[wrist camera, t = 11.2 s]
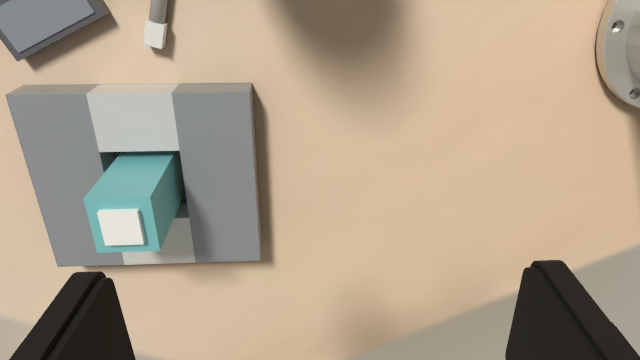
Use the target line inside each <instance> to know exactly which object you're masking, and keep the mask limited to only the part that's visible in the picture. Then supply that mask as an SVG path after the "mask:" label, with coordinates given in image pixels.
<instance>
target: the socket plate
mask: <svg viewBox="0 0 640 360" xmlns="http://www.w3.org/2000/svg"><path fill="white" fill-rule="evenodd" d="M6 99H7V102H8V105H9V108H10V112H11V115H12V118H13V122H14V125H15V128H16V131H17V135H18V138H19V141H20V145H21V148H22V151H23V154H24V158H25V161H26V164H27V167H28V171H29V174H30V177H31V181H32V184H33V187H34V190H35V194H36V197H37V200H38V203H39V207H40V210H41V213H42V217H43V220H44V223H45V226H46V230H47V233H48V236H49V239H50V243H51V246H52V249H53V253H54V256H55V259H56V262H57V266H58V267H68V266H101V265H134V264H167V263H200V262H233V261H260V258H261V247H262V239H261V222H260V206H259V190H258V174H257V158H256V141H255V125H254V109H253V93H252V83H196V84H99V85H23V86H22V87H20V88H18V89H16V90H14V91H12V92H10V93H8V94H6ZM134 151H180V157H181V164H182V171H183V178H184V185H185V192H186V199H187V203H180V205H179V208H178V210H177V212H176V215H175V217H174V219H173V222H172V224H171V226H170V229H169V231H168V233H167V236H166V238H165V240H164V243H163V245H162V247H161V250H160V251H138V252H107V253H97V250H96V246H95V242H94V238H93V235H92V231H91V227H90V223H89V219H88V215H87V211H86V208H85V204H84V200H83V198H84V197H85V196H86V195H87V193H88V192H89V191H90V190H91V188H92V187H93V186H94V185H95V184H96V182H97V181H98V180H99V179H100V177H101V176H102V175H103V174H104V173H105V171H106V170H107V169H108V168H109V166H110V165H111V164H112V163H113V162H114V160H115V157H114V152H134Z"/></svg>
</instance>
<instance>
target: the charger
mask: <svg viewBox="0 0 640 360" xmlns="http://www.w3.org/2000/svg"><path fill="white" fill-rule="evenodd" d="M184 194H185V190H184V184H183V177H182V170H181V163H180V156H179V151H134V152H121V153H120V154H119V155H118V157H117V158H116V159H115V160H114V162H113V163H112V164H111V165H110V166H109V168H108V169H107V170H106V171H105V173H104V174H103V175H102V176H101V177H100V179H99V180H98V181H97V182H96V184H95V185H94V186H93V187H92V188H91V190H90V191H89V192H88V193H87V195H86V196H85V197H84V198H83V200H84V204H85V208H86V211H87V215H88V219H89V223H90V227H91V231H92V235H93V238H94V242H95V246H96V250H97V253H107V252H138V251H160V250H161V247H162V245H163V243H164V240H165V238H166V236H167V233H168V231H169V229H170V226H171V224H172V222H173V219H174V217H175V215H176V212H177V210H178V208H179V205H180V203H181V201H182V198H183V196H184Z"/></svg>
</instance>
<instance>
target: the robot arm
mask: <svg viewBox="0 0 640 360" xmlns="http://www.w3.org/2000/svg"><path fill="white" fill-rule="evenodd" d="M596 54H597V64H598V67H599V71H600V74H601V77H602V78H603V80H604V82H605V84H606V85H607V87H608V88H609V89H610V90H611V91H612V92H613V93H614V95H615V96H616V97H618V98H619V99H621V100H623V101H624V102H626V103H628V104H630V105H632V106H635V107H637V108H639V109H640V0H609V1H608V3H607V5H606V7H605V9H604V12H603V15H602V18H601V22H600V25H599V28H598V34H597V42H596ZM9 360H135V356H134V353H133V349H132V346H131V342H130V338H129V335H128V331H127V328H126V324H125V321H124V317H123V314H122V310H121V307H120V303H119V299H118V296H117V292H116V289H115V285H114V282H113V280H112V279H111V278H106V276H105V274H104V273H103V272H76V273H74V274H73V275H72V276H71V277H70V278H69V279H68V281H67V282H66V283H65V285H64V286H63V288H62V289H61V290H60V292H59V293H58V294H57V296H56V297H55V298H54V300H53V301H52V303H51V304H50V305H49V307H48V308H47V309H46V311H45V312H44V314H43V315H42V316H41V318H40V319H39V320H38V322H37V323H36V324H35V326H34V327H33V329H32V330H31V331H30V333H29V334H28V335H27V337H26V338H25V339H24V341H23V342H22V343H21V344H20V346H19V347H18V349H17V350H16V351H15V353H14V354H13V356H12V357H11V358H10V359H9ZM506 360H640V356H639V355H638V354H637V353H636V351H635V350H634V349H633V348H632V346H631V345H630V344H629V343H628V341H627V340H626V339H625V337H624V336H623V335H622V334H621V332H620V331H619V330H618V329H617V327H616V326H615V325H614V324H613V323H612V322H610V321H609V319H608V318H607V317H606V315H605V314H604V313H603V312H602V311H601V309H600V308H599V306H598V305H597V304H596V303H595V301H594V300H593V299H592V297H591V296H590V295H589V294H588V292H587V291H586V290H585V289H584V287H583V286H582V285H581V283H580V282H579V281H578V280H577V278H576V277H575V276H574V274H573V273H572V272H571V271H570V269H569V268H568V267H567V265H566V264H565V263H564V262H563V261H560V260H548V261H534V262H533V263H532V264H531V267H527V268H525V269H524V271H523V275H522V280H521V284H520V289H519V293H518V298H517V303H516V308H515V312H514V316H513V321H512V326H511V330H510V335H509V340H508V344H507V349H506Z"/></svg>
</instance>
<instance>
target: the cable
mask: <svg viewBox="0 0 640 360" xmlns="http://www.w3.org/2000/svg"><path fill="white" fill-rule="evenodd" d="M167 2H168V0H151V7H150V16H149V19H147V20H146V22H145V32H144V41H143V45H147V46H151V47H155V48H159V49H162V48H164V47H165V43H166V35H167V27H168V23H166V22H165V18H166V10H167Z"/></svg>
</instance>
